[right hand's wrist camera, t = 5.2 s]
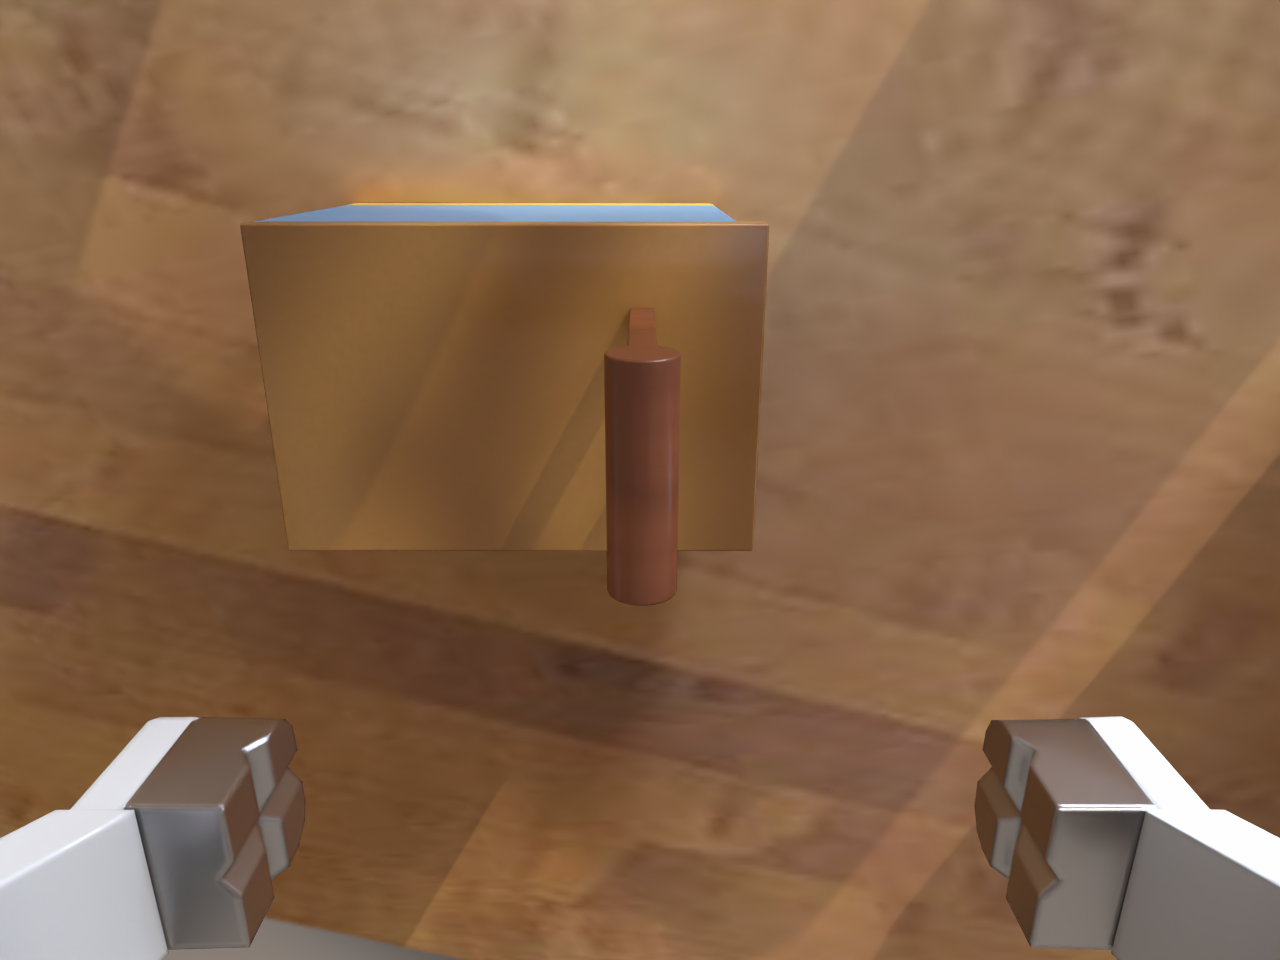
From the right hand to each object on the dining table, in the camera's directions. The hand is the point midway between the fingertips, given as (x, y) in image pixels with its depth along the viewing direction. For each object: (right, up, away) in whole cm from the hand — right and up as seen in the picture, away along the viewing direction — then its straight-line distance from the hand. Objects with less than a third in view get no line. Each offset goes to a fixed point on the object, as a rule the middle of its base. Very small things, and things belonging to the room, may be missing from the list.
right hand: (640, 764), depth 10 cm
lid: (-4, +6, +16) cm, 18 cm away
